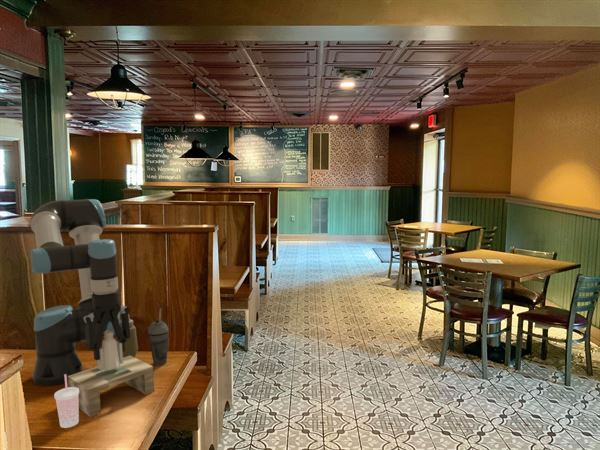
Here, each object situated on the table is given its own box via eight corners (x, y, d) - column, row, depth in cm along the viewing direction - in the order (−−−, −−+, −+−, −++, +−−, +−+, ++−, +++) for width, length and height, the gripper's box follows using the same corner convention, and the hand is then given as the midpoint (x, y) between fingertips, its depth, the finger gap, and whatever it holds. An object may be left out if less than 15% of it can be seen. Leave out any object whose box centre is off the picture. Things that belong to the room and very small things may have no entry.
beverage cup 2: (149, 360, 167) (146, 307, 165) (170, 357, 169) (167, 305, 167) (149, 368, 160) (145, 313, 158) (171, 365, 163) (167, 310, 160)
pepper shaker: (99, 371, 136) (97, 335, 135) (102, 364, 141) (99, 329, 140) (119, 368, 138) (116, 333, 137) (121, 362, 143) (118, 327, 142)
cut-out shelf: (69, 401, 138) (67, 376, 137) (132, 378, 153) (130, 355, 152) (90, 417, 129) (88, 389, 128) (154, 390, 143) (152, 366, 142)
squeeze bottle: (130, 364, 164) (130, 315, 163) (109, 361, 166) (109, 313, 164) (142, 356, 172) (142, 309, 170) (122, 353, 174) (122, 307, 172)
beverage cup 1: (85, 422, 126) (81, 373, 124) (62, 432, 121) (57, 381, 120) (76, 415, 130) (72, 367, 128) (53, 424, 125) (48, 375, 124)
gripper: (79, 300, 128) (85, 379, 130) (139, 287, 141) (144, 359, 144) (68, 295, 133) (74, 372, 135) (127, 283, 146) (132, 353, 149)
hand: (110, 365), depth 140 cm, fingers closed on pepper shaker, 5 cm apart
